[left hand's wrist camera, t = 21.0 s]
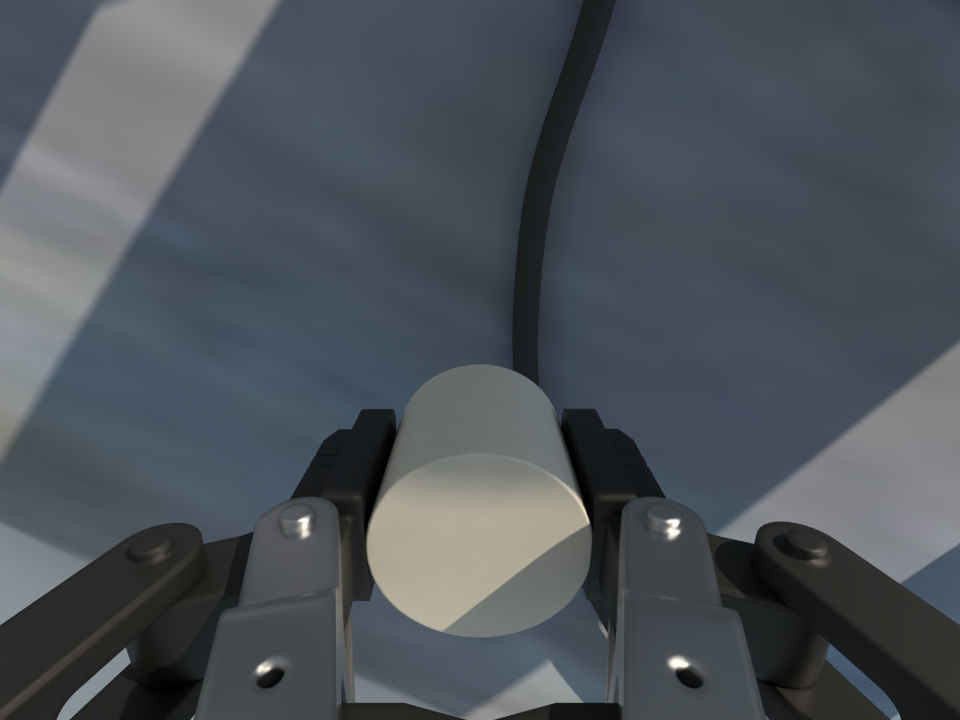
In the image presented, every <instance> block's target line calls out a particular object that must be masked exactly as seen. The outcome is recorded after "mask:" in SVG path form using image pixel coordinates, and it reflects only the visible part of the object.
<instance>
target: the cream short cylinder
mask: <svg viewBox="0 0 960 720" xmlns="http://www.w3.org/2000/svg"><path fill="white" fill-rule="evenodd" d="M365 544H366V556H367V562H368V565H369V569H370V572H371V575H372V577H373V579H374V581H375V583H376V585H377V586H378V588H379V589H380V591H381V592H382V594H383V595H384V596H385V597H386V599H387V600H388V601H389V602H390V603H391V604H392V605H393V606H394V607H395V608H397V609H398V610H399V611H400V612H401V613H403V614H404V615H406V616H407V617H409V618H410V619H412V620H414V621H415V622H417V623H419V624H421V625H423V626H426V627H428V628H431V629H433V630H436V631H439V632H443V633H446V634H451V635H456V636H462V637H475V638H476V637H496V636H503V635H508V634H513V633H517V632H520V631H523V630H526V629H529V628H531V627H533V626H536V625H538V624H540V623H542V622H544V621H545V620H547V619H549V618H551V617H552V616H554V615H555V614H556V613H558V612H559V611H560V610H562V609H563V608H564V607H565V606H566V605H567V604H568V603H569V602H570V601H571V600H572V599H573V598H574V596H575V595H576V594H577V592H578V591H579V590H580V588H581V586H582V585H583V583H584V581H585V579H586V577H587V575H588V572H589V567H590V559H591V548H592V527H591V523H590V519H589V516H588V513H587V510H586V507H585V503H584V500H583V497H582V494H581V490H580V487H579V484H578V481H577V478H576V474H575V471H574V468H573V465H572V462H571V458H570V455H569V452H568V449H567V446H566V442H565V439H564V436H563V433H562V430H561V426H560V423H559V420H558V417H557V414H556V412H555V409H554V407H553V405H552V403H551V402H550V400H549V398H548V397H547V396H546V395H545V393H544V392H543V391H542V390H541V389H540V388H539V387H538V386H537V385H536V384H535V383H534V382H532V381H531V380H529V379H528V378H526V377H525V376H523V375H521V374H519V373H517V372H515V371H512V370H510V369H507V368H504V367H499V366H495V365H485V364H474V365H465V366H460V367H456V368H452V369H449V370H447V371H444V372H442V373H440V374H438V375H436V376H435V377H433V378H431V379H430V380H429V381H427V382H426V383H425V384H423V385H422V386H421V387H420V388H419V389H418V390H417V391H416V392H415V394H414V395H413V396H412V398H411V399H410V400H409V402H408V404H407V406H406V407H405V410H404V412H403V415H402V418H401V421H400V424H399V427H398V430H397V433H396V437H395V440H394V443H393V446H392V449H391V453H390V456H389V459H388V462H387V465H386V469H385V472H384V475H383V478H382V481H381V484H380V488H379V491H378V494H377V497H376V500H375V504H374V507H373V510H372V513H371V516H370V519H369V523H368V527H367V532H366V542H365Z"/></svg>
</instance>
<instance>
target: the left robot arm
mask: <svg viewBox="0 0 960 720" xmlns="http://www.w3.org/2000/svg"><path fill="white" fill-rule="evenodd" d="M615 1H616V0H584V2H583V5H582V9H581V12H580V16H579V19H578V23H577V26H576V29H575V32H574V36H573V39H572V42H571V45H570V48H569V51H568V54H567V57H566V60H565V63H564V66H563V69H562V72H561V74H560V77H559V80H558V83H557V86H556V89H555V92H554V95H553V98H552V100H551V103H550V106H549V109H548V112H547V115H546V118H545V121H544V124H543V127H542V131H541V134H540V137H539V141H538V144H537V147H536V151H535V154H534V158H533V162H532V166H531V170H530V174H529V178H528V183H527V188H526V193H525V198H524V203H523V210H522V217H521V224H520V231H519V242H518V252H517V262H516V274H515V288H514V304H513V367H514V371H515V372H517V373H519V374H521V375H523V376H525V377H526V378H528V379H529V380H531V381H532V382H534V383H535V384H536V385H537V386H538V387H539V380H538V360H537V334H538V311H539V296H540V284H541V274H542V264H543V255H544V247H545V238H546V231H547V224H548V218H549V211H550V206H551V201H552V197H553V192H554V188H555V183H556V179H557V176H558V172H559V168H560V165H561V161H562V158H563V155H564V152H565V148H566V145H567V142H568V139H569V136H570V133H571V130H572V127H573V125H574V122H575V119H576V116H577V113H578V110H579V108H580V105H581V102H582V99H583V97H584V94H585V91H586V88H587V86H588V83H589V80H590V77H591V75H592V72H593V69H594V66H595V64H596V61H597V58H598V55H599V52H600V49H601V46H602V43H603V40H604V37H605V34H606V31H607V28H608V25H609V21H610V18H611V15H612V11H613V8H614V5H615ZM561 430H562V433H563V436H564V439H565V442H566V446H567V449H568V452H569V455H570V458H571V462H572V465H573V468H574V471H575V474H576V478H577V481H578V484H579V487H580V490H581V494H582V497H583V500H584V503H585V507H586V510H587V513H588V516H589V519H590V523H591V527H592V548H591V559H590V567H589V572H588V575H587V577H586V579H585V581H584V583H583V585H582V587H583V589H584V591H585V595H586V599H587V600H590V601H591V603H592V605H593V607H594V609H595V610H596V612H597V614H598V616H599V618H600V620H601V622H602V624H603V625H604V627H605V629H606V631H607V633H608V640H607V664H606V688H605V703H554V704H550V705H546V706H543V707H539V708H536V709H532V710H528V711H525V712H521V713H517V714H514V715H510V716H506V717H503V718H499V719H495V720H766V717H765V715H766V716H767V717H768V718H769V719H770V720H890V719H889V718H888V717H887V716H886V715H885V714H884V713H883V712H881V711H880V710H879V709H878V708H877V707H876V706H875V705H874V704H873V703H872V702H871V701H870V700H869V699H868V698H866V697H865V696H864V695H863V694H862V693H861V692H860V691H859V690H858V689H857V688H856V687H855V686H854V685H852V684H851V683H850V682H849V681H848V680H847V679H846V678H845V677H844V676H843V675H842V674H841V673H840V672H838V671H837V670H836V669H835V668H834V667H833V666H832V665H831V664H830V663H829V662H828V661H827V660H826V659H825V658H826V655H827V652H828V649H829V646H830V644H831V645H832V646H834V647H835V648H836V649H837V650H838V651H839V652H840V653H841V654H843V655H844V656H845V657H846V658H847V659H848V660H849V661H850V662H852V663H853V664H854V665H855V666H856V667H857V668H858V669H859V670H861V671H862V672H863V673H864V674H865V675H866V676H867V677H868V678H870V679H871V680H872V681H873V682H874V683H875V684H876V685H877V686H879V687H880V688H881V689H882V690H883V691H884V692H885V693H886V694H887V696H888V697H889V698H890V699H891V701H892V702H893V703H894V705H895V707H896V708H897V710H898V712H899V715H900V717H901V720H960V625H959V624H957V623H956V622H954V621H953V620H951V619H950V618H948V617H947V616H945V615H944V614H943V613H941V612H940V611H938V610H937V609H935V608H934V607H932V606H931V605H930V604H928V603H927V602H925V601H924V600H922V599H921V598H919V597H918V596H916V595H915V594H914V593H912V592H911V591H909V590H908V589H906V588H905V587H903V586H902V585H901V584H899V583H898V582H896V581H895V580H893V579H892V578H890V577H889V576H887V575H886V574H885V573H883V572H882V571H880V570H879V569H877V568H876V567H874V566H873V565H872V564H870V563H869V562H867V561H866V560H864V559H863V558H861V557H860V556H858V555H857V554H856V553H854V552H853V551H851V550H850V549H848V548H847V547H845V546H844V545H842V544H841V543H840V542H838V541H837V540H835V539H834V538H832V537H830V536H829V535H827V534H825V533H823V532H821V531H819V530H816V529H814V528H811V527H808V526H805V525H801V524H797V523H792V522H772V523H768V524H765V525H763V526H762V527H760V528H759V530H758V531H757V534H756V538H755V543H754V544H752V543H748V542H743V541H738V540H734V539H729V538H724V537H720V536H716V535H712V534H709V533H706V529H705V525H704V523H703V521H702V520H701V518H700V517H699V516H698V515H697V514H696V513H695V512H694V511H692V510H691V509H689V508H688V507H686V506H684V505H682V504H680V503H678V502H675V501H673V500H669V499H666V497H665V496H664V494H663V492H662V490H661V488H660V487H659V485H658V483H657V481H656V480H655V478H654V476H653V474H652V472H651V471H650V469H649V467H647V464H646V462H645V460H644V458H643V456H641V453H640V451H639V449H638V448H637V446H636V444H635V442H634V440H632V439H631V438H630V437H628V436H627V435H626V434H624V433H623V432H622V431H620V430H619V429H605V428H604V426H603V424H602V422H601V419H600V417H599V415H598V413H597V411H596V410H595V409H564V410H563V413H562V421H561ZM396 433H397V430H396V417H395V412H394V409H362V410H361V412H360V414H359V416H358V418H357V420H356V422H355V424H354V426H353V428H352V429H339V430H337V431H336V432H335V433H333V434H332V435H331V436H329V437H328V438H327V439H325V440H324V441H323V443H322V444H321V446H320V448H319V450H318V451H317V453H316V456H315V457H314V458H313V460H312V462H311V464H310V467H308V469H307V471H306V472H305V474H304V476H303V478H302V479H301V481H300V483H299V485H298V486H297V488H296V490H295V492H294V493H293V495H292V497H291V499H290V500H287V501H285V502H282V503H280V504H278V505H276V506H274V507H272V508H271V509H269V510H268V511H266V512H265V513H264V514H263V515H262V516H261V517H260V518H259V520H258V521H257V523H256V525H255V529H254V532H252V533H249V534H246V535H243V536H239V537H235V538H230V539H225V540H221V541H216V542H211V543H207V544H203V539H202V535H201V532H200V531H199V530H198V529H197V528H196V527H194V526H192V525H190V524H185V523H169V524H163V525H158V526H154V527H151V528H148V529H145V530H143V531H140V532H138V533H136V534H134V535H132V536H130V537H128V538H127V539H125V540H123V541H122V542H120V543H119V544H117V545H116V546H115V547H113V548H112V549H110V550H109V551H107V552H106V553H104V554H103V555H102V556H100V557H99V558H97V559H96V560H94V561H93V562H91V563H90V564H88V565H87V566H86V567H84V568H83V569H81V570H80V571H78V572H77V573H75V574H74V575H73V576H71V577H70V578H68V579H67V580H65V581H64V582H62V583H61V584H59V585H58V586H57V587H55V588H54V589H52V590H51V591H49V592H48V593H46V594H45V595H44V596H42V597H41V598H39V599H38V600H36V601H35V602H33V603H32V604H31V605H29V606H28V607H26V608H25V609H23V610H22V611H20V612H19V613H17V614H16V615H15V616H13V617H12V618H10V619H9V620H7V621H6V622H4V623H3V624H1V625H0V720H56V719H57V717H58V715H59V713H60V711H61V709H62V708H63V706H64V705H65V703H66V702H67V701H68V699H69V698H70V697H71V696H72V695H73V694H74V693H75V692H76V691H77V690H78V689H79V688H80V687H81V686H83V685H84V684H85V683H86V682H87V681H88V680H89V679H90V678H92V677H93V676H94V675H95V674H96V673H97V672H98V671H99V670H101V669H102V668H103V667H104V666H105V665H106V664H107V663H108V662H110V661H111V660H112V659H113V658H114V657H115V656H116V655H117V654H119V653H120V652H121V651H122V650H123V649H124V648H125V647H126V649H127V652H128V655H129V658H130V661H131V663H130V664H129V665H128V666H127V667H126V668H125V669H124V670H123V671H122V672H120V673H119V674H118V675H117V676H116V677H115V678H114V679H113V680H112V681H111V682H110V683H109V684H108V685H106V686H105V687H104V688H103V689H102V690H101V691H100V692H99V693H98V694H97V695H96V696H95V697H94V698H92V699H91V700H90V701H89V702H88V703H87V704H86V705H85V706H84V707H83V708H82V709H81V710H80V711H78V713H76V714H75V715H74V716H73V717H72V718H71V719H70V720H190V719H191V718H192V717H193V716H194V715H195V717H194V720H465V719H461V718H457V717H454V716H450V715H446V714H443V713H439V712H435V711H432V710H428V709H424V708H421V707H417V706H414V705H410V704H406V703H355V688H354V664H353V640H352V625H351V617H350V609H351V605H352V602H353V601H370V598H371V594H372V590H373V586H374V582H375V581H374V579H373V577H372V575H371V572H370V569H369V565H368V562H367V556H366V544H365V542H366V532H367V527H368V523H369V519H370V516H371V513H372V510H373V507H374V504H375V500H376V497H377V494H378V491H379V488H380V484H381V481H382V478H383V475H384V472H385V469H386V465H387V462H388V459H389V456H390V453H391V449H392V446H393V443H394V440H395V437H396Z"/></svg>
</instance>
